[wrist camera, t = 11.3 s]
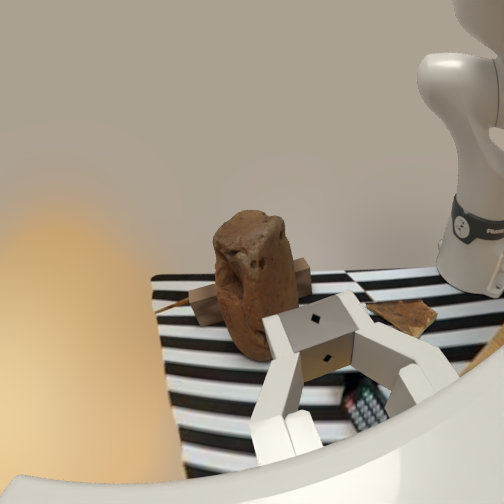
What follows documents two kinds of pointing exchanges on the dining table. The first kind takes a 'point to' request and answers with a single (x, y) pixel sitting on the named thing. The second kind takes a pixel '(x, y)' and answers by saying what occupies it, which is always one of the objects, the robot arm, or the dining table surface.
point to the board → (207, 301)
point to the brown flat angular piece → (405, 315)
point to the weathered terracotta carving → (253, 277)
